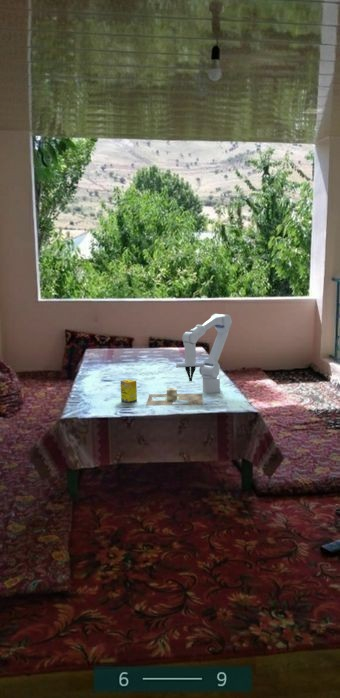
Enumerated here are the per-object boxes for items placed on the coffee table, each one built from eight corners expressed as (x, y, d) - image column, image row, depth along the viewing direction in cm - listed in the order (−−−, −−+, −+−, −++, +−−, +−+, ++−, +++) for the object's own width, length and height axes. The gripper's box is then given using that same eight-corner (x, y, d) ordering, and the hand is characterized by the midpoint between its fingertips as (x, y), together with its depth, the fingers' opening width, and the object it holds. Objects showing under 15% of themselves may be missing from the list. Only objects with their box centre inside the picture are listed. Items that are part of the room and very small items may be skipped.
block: (177, 397, 271) (176, 387, 270) (176, 399, 266) (176, 390, 265) (167, 397, 271) (167, 387, 270) (166, 399, 266) (166, 390, 265)
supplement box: (120, 401, 271) (120, 380, 269) (129, 399, 275) (129, 378, 274) (128, 403, 267) (127, 382, 265) (137, 401, 271) (136, 380, 269)
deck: (202, 396, 277) (202, 393, 277) (203, 407, 256) (203, 404, 255) (149, 397, 279) (149, 394, 278) (145, 408, 257) (145, 405, 257)
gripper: (175, 356, 266) (176, 382, 268) (204, 356, 266) (204, 382, 268) (176, 354, 273) (176, 379, 275) (204, 353, 273) (204, 379, 275)
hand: (190, 380), depth 272 cm, fingers closed
